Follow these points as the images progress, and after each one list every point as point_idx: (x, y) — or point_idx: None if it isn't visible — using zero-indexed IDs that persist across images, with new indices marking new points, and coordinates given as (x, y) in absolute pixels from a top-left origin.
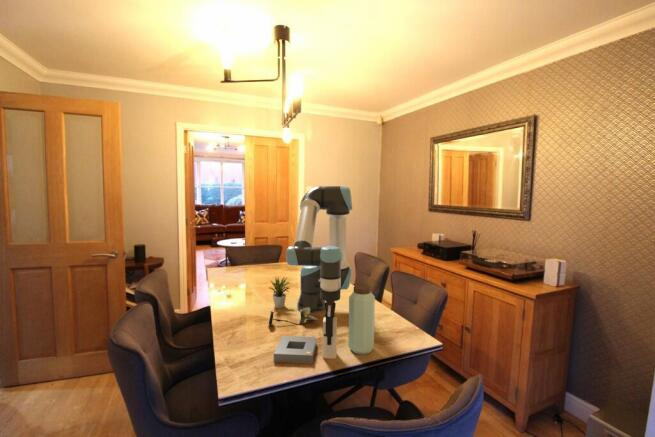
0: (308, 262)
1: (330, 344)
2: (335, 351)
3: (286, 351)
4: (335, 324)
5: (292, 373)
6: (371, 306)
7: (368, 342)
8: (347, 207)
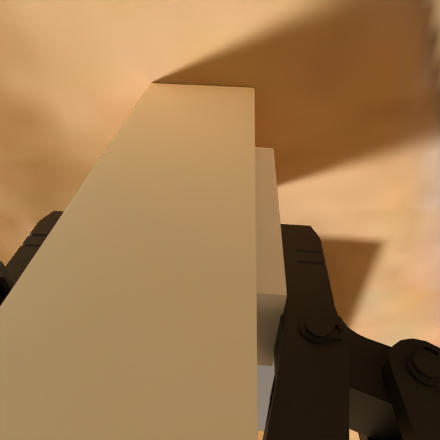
0: None
1: (316, 240)
2: (254, 123)
3: (263, 400)
4: None
5: (410, 332)
6: None
7: None
8: None
